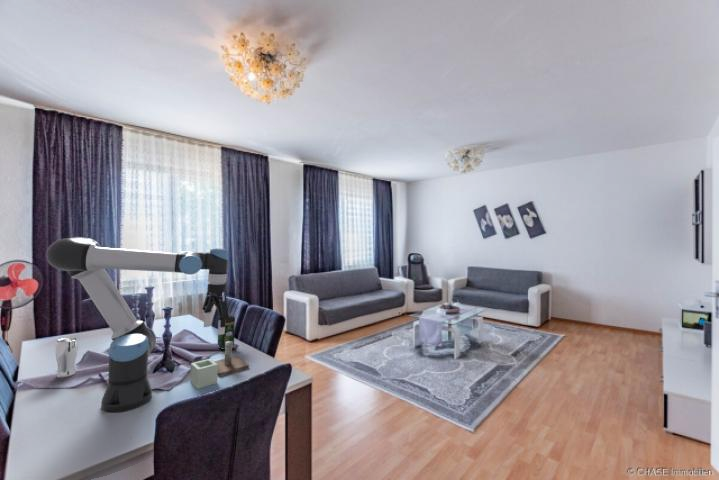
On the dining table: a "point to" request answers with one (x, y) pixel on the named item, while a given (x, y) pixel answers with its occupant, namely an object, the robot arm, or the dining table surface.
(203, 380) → the collar
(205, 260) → the robot arm
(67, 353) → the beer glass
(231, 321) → the coffee jar
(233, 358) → the post board
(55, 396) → the dining table surface
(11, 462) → the dining table surface
